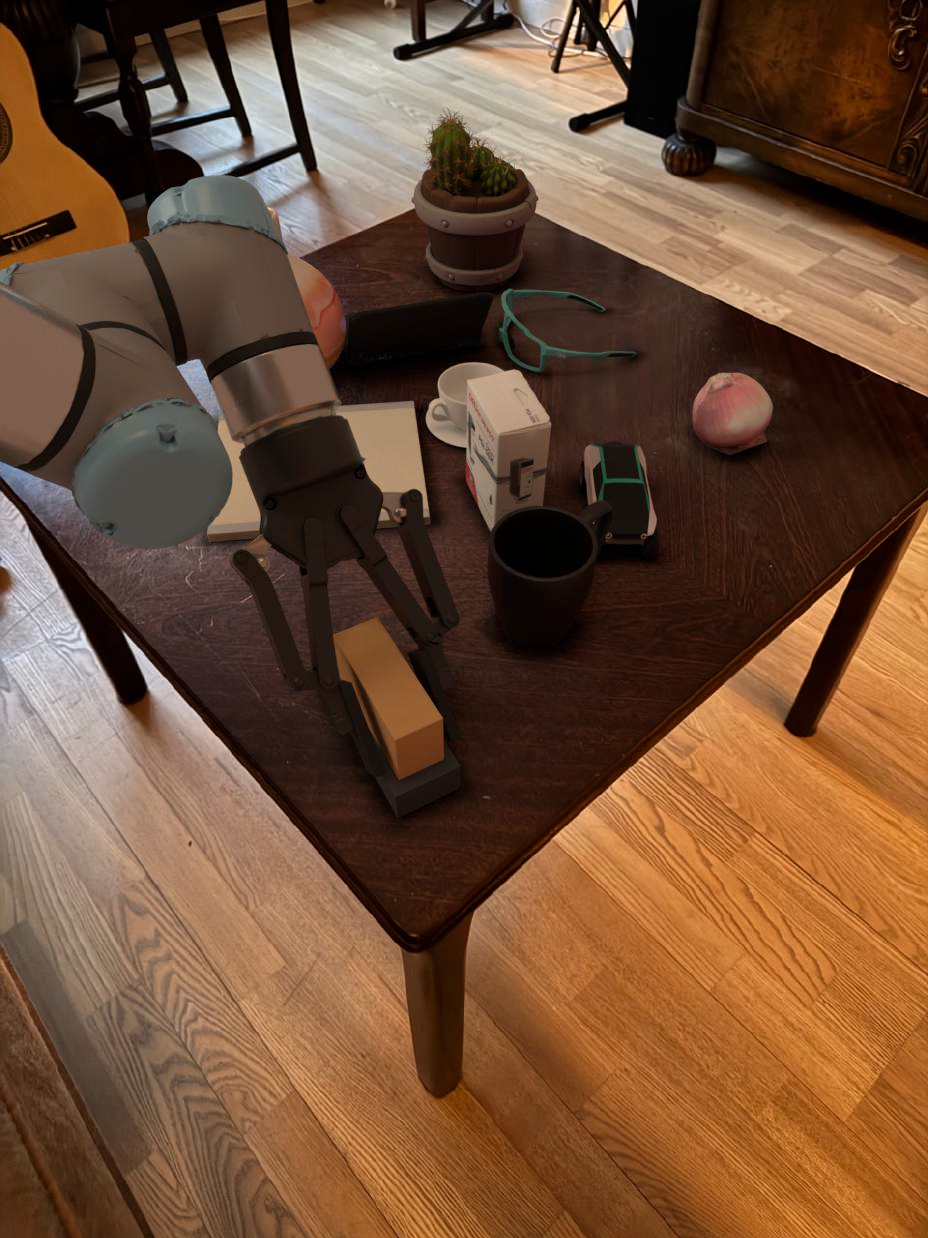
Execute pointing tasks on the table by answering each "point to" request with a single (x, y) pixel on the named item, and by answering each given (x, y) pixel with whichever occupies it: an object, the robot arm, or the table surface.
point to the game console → (416, 328)
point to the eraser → (397, 718)
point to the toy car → (621, 493)
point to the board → (383, 448)
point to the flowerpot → (472, 210)
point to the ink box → (505, 444)
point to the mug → (544, 569)
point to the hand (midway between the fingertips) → (413, 753)
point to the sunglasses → (545, 349)
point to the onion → (732, 413)
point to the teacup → (454, 402)
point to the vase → (319, 304)
